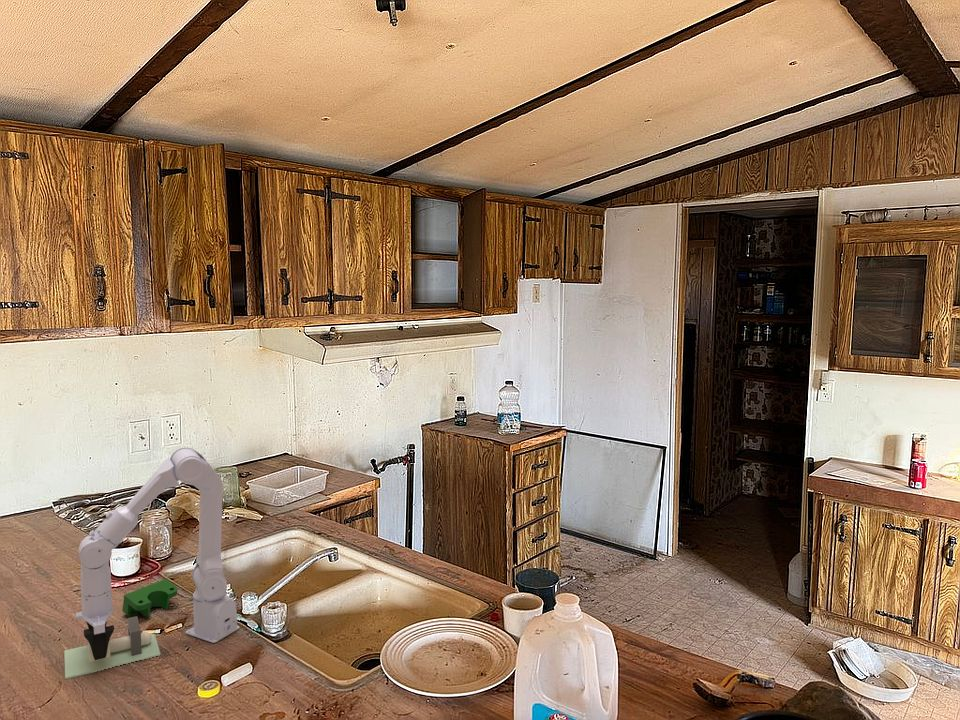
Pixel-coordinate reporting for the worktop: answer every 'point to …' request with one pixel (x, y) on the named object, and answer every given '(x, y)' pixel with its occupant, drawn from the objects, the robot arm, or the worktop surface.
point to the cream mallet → (120, 645)
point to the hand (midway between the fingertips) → (99, 650)
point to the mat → (80, 663)
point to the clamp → (149, 598)
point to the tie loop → (134, 635)
